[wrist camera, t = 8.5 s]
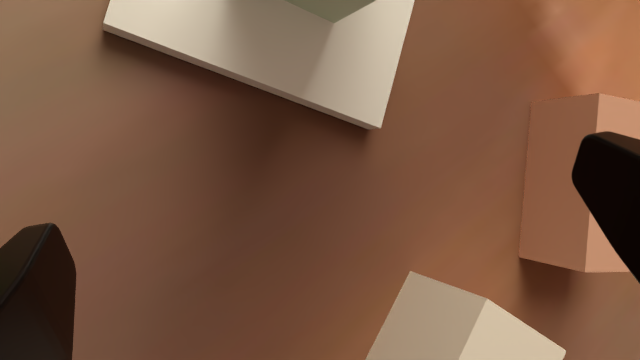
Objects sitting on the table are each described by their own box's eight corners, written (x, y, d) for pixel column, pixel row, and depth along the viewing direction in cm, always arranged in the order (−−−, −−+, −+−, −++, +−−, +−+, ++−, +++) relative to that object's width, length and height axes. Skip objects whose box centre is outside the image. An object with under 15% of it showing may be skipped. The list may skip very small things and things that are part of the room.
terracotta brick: (569, 256, 28) (642, 271, 24) (515, 256, 26) (584, 272, 22) (581, 111, 28) (655, 104, 24) (528, 102, 26) (599, 93, 22)
